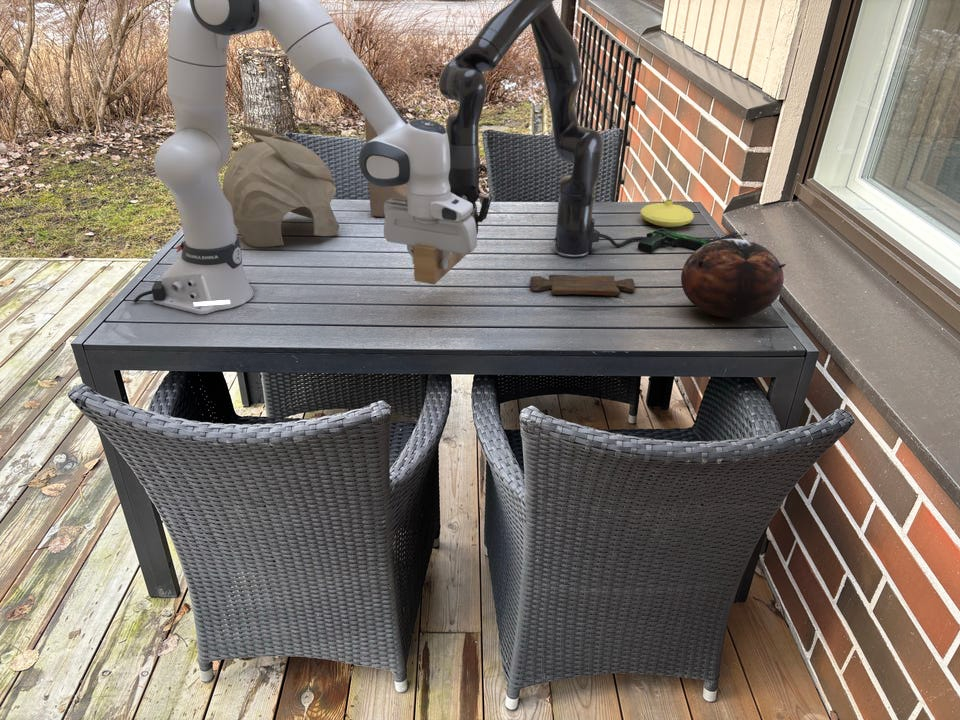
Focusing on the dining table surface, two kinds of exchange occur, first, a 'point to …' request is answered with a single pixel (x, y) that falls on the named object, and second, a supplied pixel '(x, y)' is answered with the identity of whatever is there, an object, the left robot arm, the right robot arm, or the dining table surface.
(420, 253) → the bar
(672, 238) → the handgun
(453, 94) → the right robot arm
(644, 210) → the yellow knobbed lid
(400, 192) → the decorative block
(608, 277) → the dark wooden board
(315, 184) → the helmet
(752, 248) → the brown coconut
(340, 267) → the dining table surface
